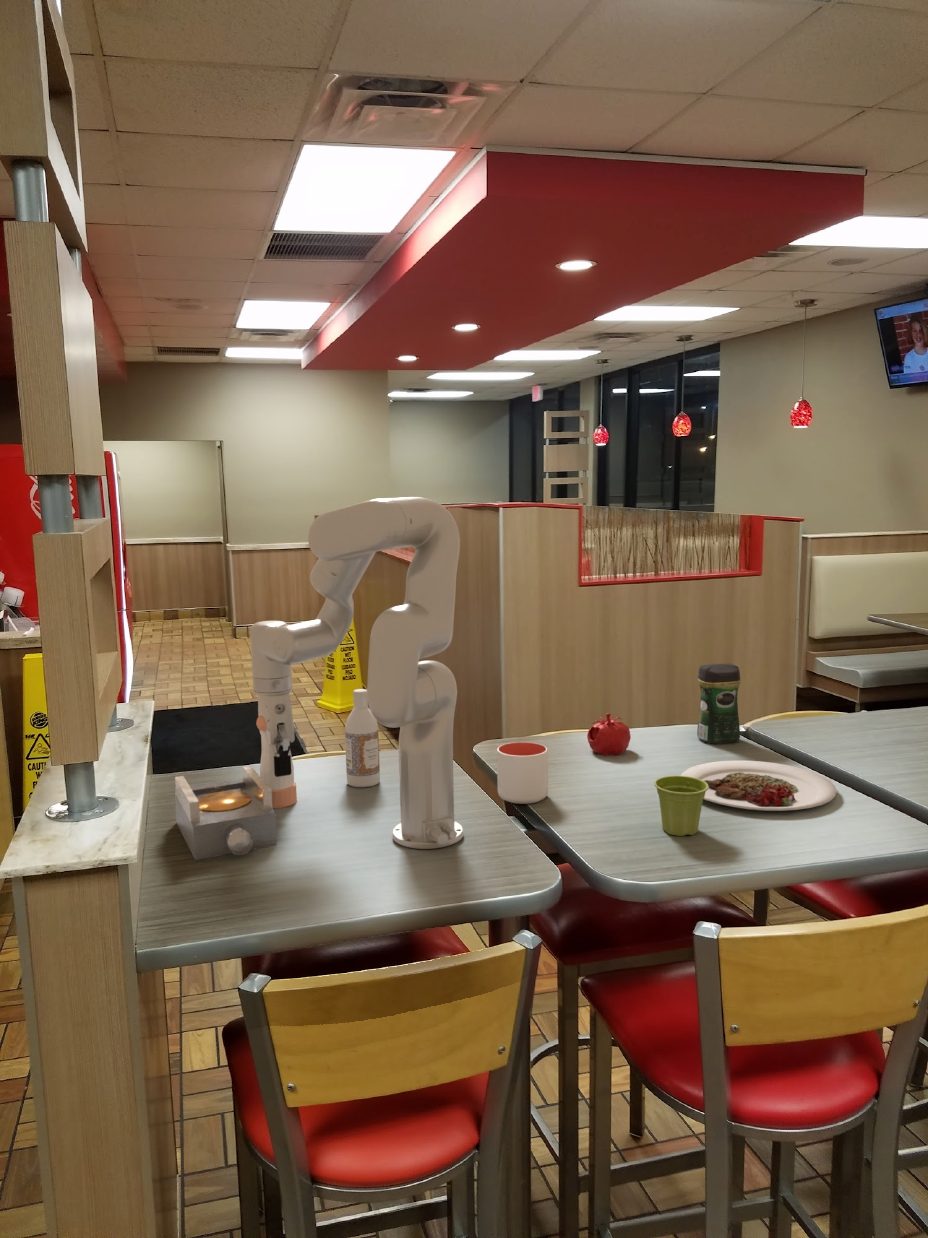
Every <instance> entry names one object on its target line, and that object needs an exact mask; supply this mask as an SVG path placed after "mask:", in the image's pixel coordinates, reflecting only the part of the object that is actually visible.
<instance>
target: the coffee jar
mask: <svg viewBox="0 0 928 1238" xmlns="http://www.w3.org/2000/svg"><path fill="white" fill-rule="evenodd" d="M697 677H698V678H697V683H698V685H699V689H700V701H699V702H700V704H699V712H698V713H699V714H698V720H697V732H696V733H697V738H698V739H699V740H700V741H701V742H702V743H708V744H728V743H735V742H738V741H739V740H740V738H741V728H740V719H739V706H738V705H739V704H738V694H739V693H738V692H739V688H740V685H741V672H740V668H739V666H738V665H735V664H733V663H728V662H727V663H714V664H713V663H711V664H703V665H700V666H699V669H698V676H697Z"/></svg>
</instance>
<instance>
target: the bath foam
mask: <svg viewBox="0 0 928 1238" xmlns="http://www.w3.org/2000/svg"><path fill="white" fill-rule="evenodd" d="M352 693H353V694H352V695H353V696H352V697H353V707H352V709H351V712H350V713H349V715H348V717H347V718H346V722H345V726H344V727H345V728H344V737H345V739H344V742H345V743H344V744H345V745H344V746H345V763H346V764H345V765H346V766H345V767H346V771H345V772H346V782H347V784H348V786H350V787H353V788H370V787H374V786H375V785H379V783H380V781H381V773H380V771H381V770H380V765H381V764H380V739H379V724H378V721H377V720H376V719H375V718H374V716H373V715H372V713H371V711H370V708H369V704H368V697H367V688H366V689H365V688H357V689H354V690H353V691H352Z"/></svg>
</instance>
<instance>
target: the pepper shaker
mask: <svg viewBox="0 0 928 1238" xmlns="http://www.w3.org/2000/svg"><path fill="white" fill-rule="evenodd" d="M255 724H256V727H257V729H258V730H259V731H260V730H261V734H260V739H261V740H260V741H261V743H260V744H262V745H261V755H260V764H259V776H260V777H261V778H262V779H263V781H264V782H265V783H266V784H267V785H268V786H269V788H270V789H271V791H272V809H281V808H287V807H290V806H292V805H294V804H296V803H297V802H298V797H297V794H298V793H297V784H296V782H295V772H294V771H295V770H294V769H295V766H294V762H293V757H292V756H291V772H292V773H291V775H286V776H280V777H276V776H275V773H274V756H275V751H274V747H273V745H271V744H269V743H268V742H267V738H266V734H265V731H266V724H265V721H264V718H263V717H262V716H261V715H260V716H259V717H257V718H256V723H255ZM277 732H278V730H277ZM276 741H278V740H276ZM290 743H291V742H289V746H290V747H291V744H290ZM279 747H280V745H279V746H278V750H279Z"/></svg>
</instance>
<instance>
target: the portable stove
mask: <svg viewBox="0 0 928 1238" xmlns="http://www.w3.org/2000/svg"><path fill="white" fill-rule="evenodd" d="M174 782H175V784H174V785H175V786H174V787H175V791H174V805H175V807H174V808H175V819H176V820H175V821H176V825H177V827H178V829H179V831H180V832H181V835H182V837H183V839H184V841H185V842H186V845H187V847H188V849H189V851H190V853H191V854H192V857H193V859H194V860H195V861H200V860H205V859H210V858H216V857H221V856H226V855H231V854H233V855H235V856H243V855H246V854H248V853H249V852H250V851H253V850H257V849H264V848H269V847H274V846H277V845H278V840H277V821H276V820H277V819H276V811H275V810H274V808H272V791H271V789H270V788H269V786H268V785H267V784H266V783H265V782H264V781H263V779H262V778H261V777H260V774H258V773H257V771H256V770H255V769H254V768H253V767H252V766H251V765H246V766H242V778H239V779H231V780H226V781H219V782H212V783H207V784H206V783H205V784H200V785H199V784H198V785H190V784H189V783H188V781H187V780H186V777H185V776H184V775H179V776H175V777H174Z"/></svg>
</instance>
